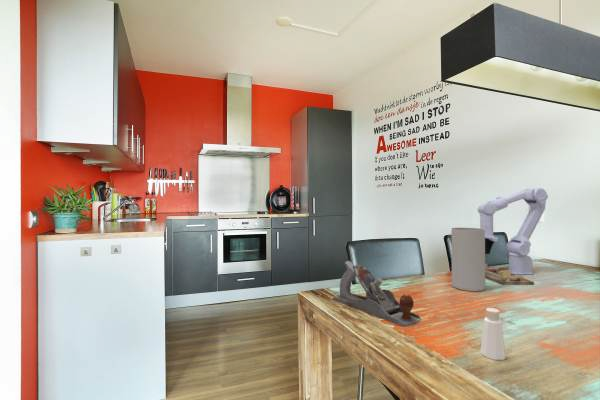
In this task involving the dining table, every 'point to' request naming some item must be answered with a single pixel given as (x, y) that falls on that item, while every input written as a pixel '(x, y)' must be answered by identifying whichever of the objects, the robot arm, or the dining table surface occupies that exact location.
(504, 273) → the block
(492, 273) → the trammel
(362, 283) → the hand plane
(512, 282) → the slide rail board
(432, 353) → the dining table surface
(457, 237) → the cylinder vase
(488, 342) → the salt shaker
